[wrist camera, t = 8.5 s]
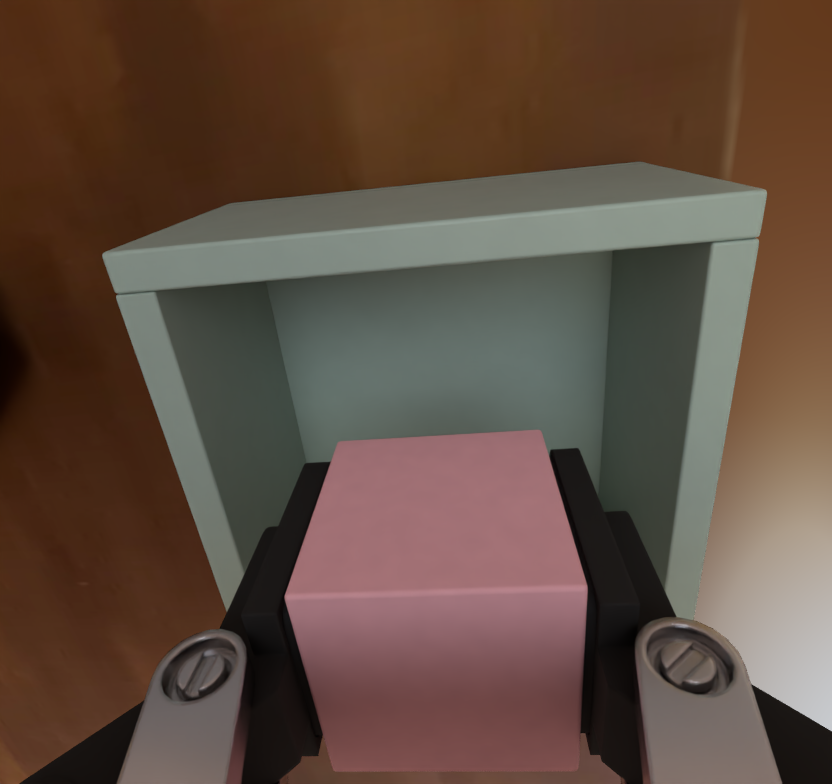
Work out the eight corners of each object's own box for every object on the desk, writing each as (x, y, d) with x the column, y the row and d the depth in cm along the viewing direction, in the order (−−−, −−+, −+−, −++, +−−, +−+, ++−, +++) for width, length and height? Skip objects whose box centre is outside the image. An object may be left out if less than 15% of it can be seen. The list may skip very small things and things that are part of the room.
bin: (228, 203, 16) (99, 252, 10) (641, 161, 15) (770, 188, 9) (304, 519, 21) (248, 676, 15) (615, 505, 20) (687, 667, 14)
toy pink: (337, 439, 11) (282, 597, 7) (541, 427, 10) (589, 587, 7) (365, 588, 13) (331, 774, 9) (541, 582, 12) (579, 773, 9)
